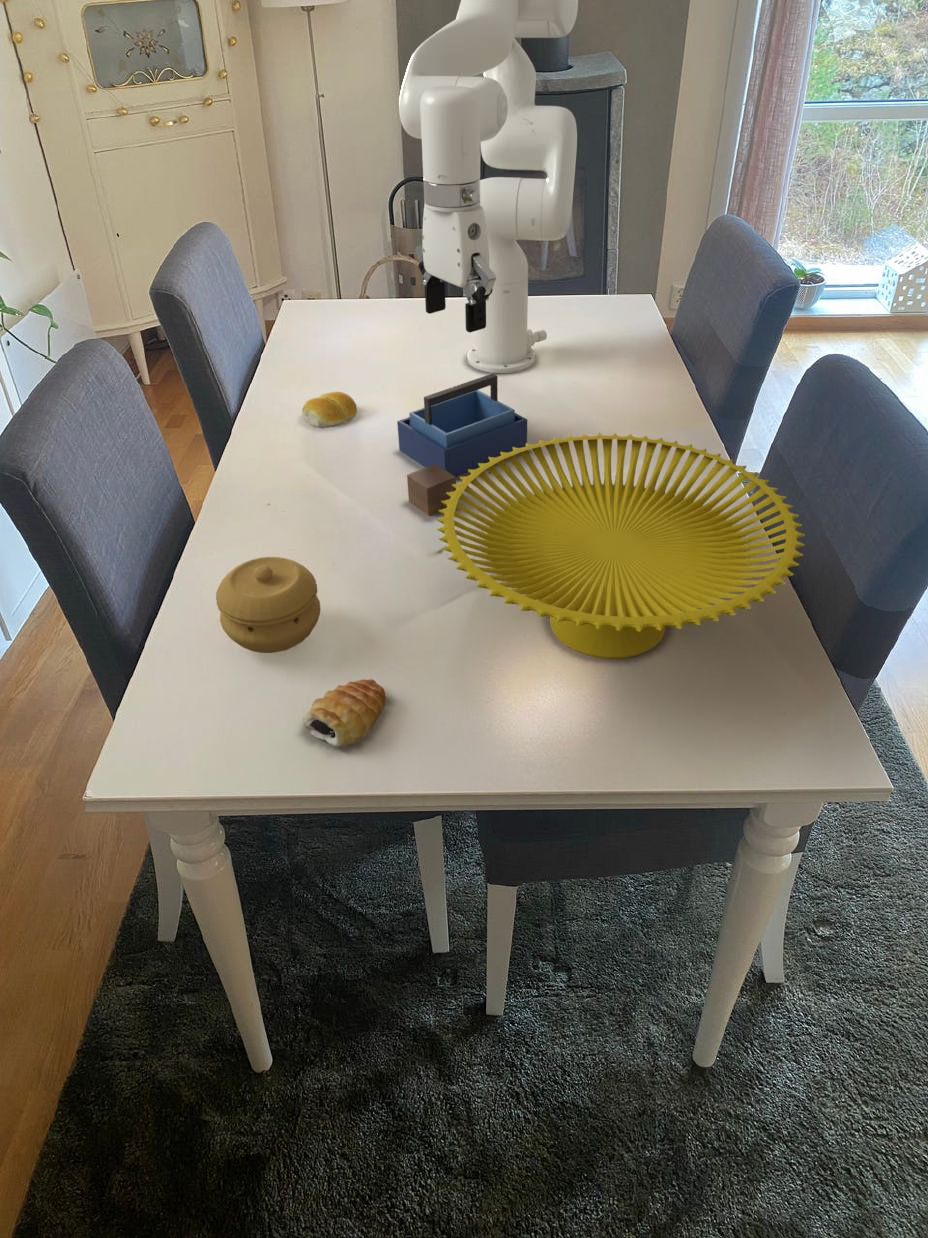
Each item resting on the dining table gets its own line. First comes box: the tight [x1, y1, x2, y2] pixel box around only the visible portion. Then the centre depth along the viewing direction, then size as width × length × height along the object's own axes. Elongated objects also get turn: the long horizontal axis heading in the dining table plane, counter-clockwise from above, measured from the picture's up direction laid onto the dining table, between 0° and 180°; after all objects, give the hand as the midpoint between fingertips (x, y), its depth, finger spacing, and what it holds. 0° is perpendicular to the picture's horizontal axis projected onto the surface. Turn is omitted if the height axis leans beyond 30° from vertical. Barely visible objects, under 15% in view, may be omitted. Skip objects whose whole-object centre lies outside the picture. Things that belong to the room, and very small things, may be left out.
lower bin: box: [396, 412, 528, 478], centre depth 147 cm, size 16×12×6 cm
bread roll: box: [301, 391, 358, 429], centre depth 158 cm, size 8×9×4 cm
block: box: [406, 464, 457, 517], centre depth 135 cm, size 5×5×5 cm
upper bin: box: [409, 372, 516, 448], centre depth 145 cm, size 13×10×11 cm
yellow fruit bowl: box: [436, 432, 806, 660], centre depth 110 cm, size 40×40×15 cm
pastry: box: [302, 678, 387, 748], centre depth 101 cm, size 9×7×4 cm
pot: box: [215, 556, 321, 654], centre depth 111 cm, size 12×12×10 cm
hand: (455, 320), depth 136 cm, fingers open, 9 cm apart
